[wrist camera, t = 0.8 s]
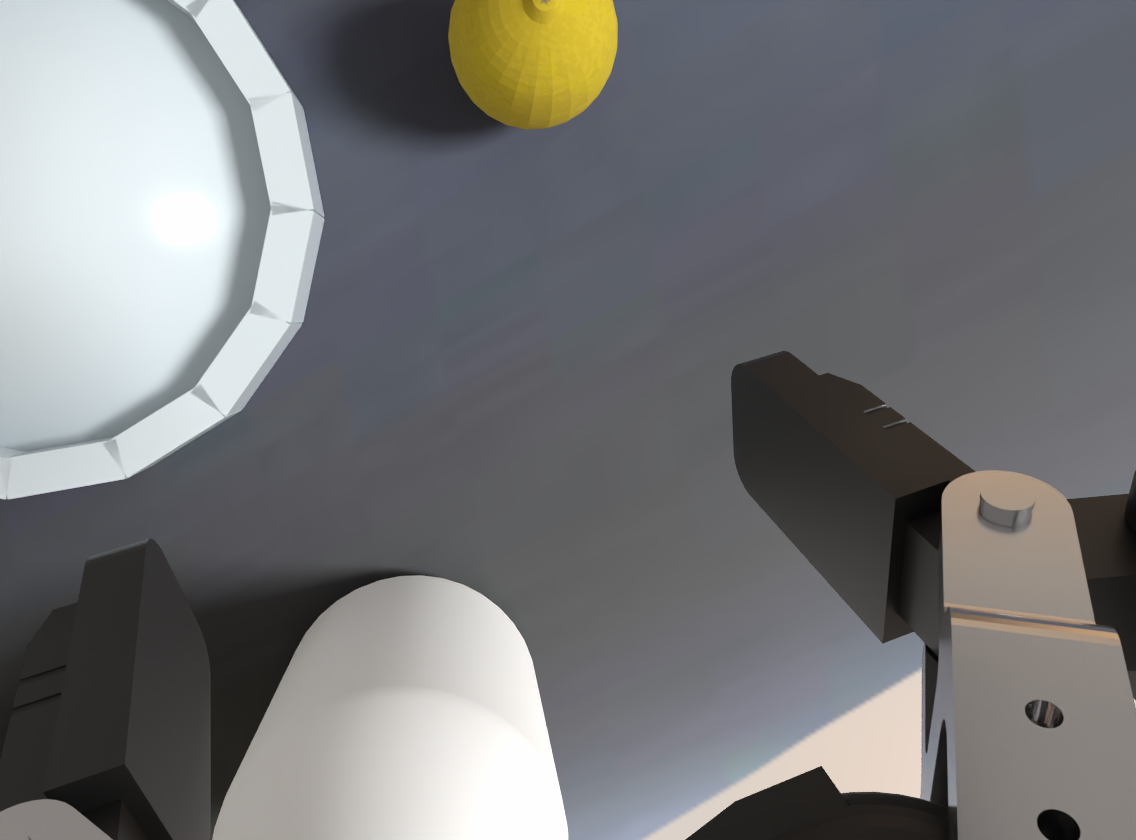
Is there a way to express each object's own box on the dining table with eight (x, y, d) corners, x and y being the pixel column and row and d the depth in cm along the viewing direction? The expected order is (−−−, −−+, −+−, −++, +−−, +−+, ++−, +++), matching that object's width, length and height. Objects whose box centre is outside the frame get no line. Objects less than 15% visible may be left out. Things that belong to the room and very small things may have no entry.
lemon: (441, 135, 33) (437, 81, 26) (459, -18, 33) (459, -123, 25) (587, 158, 34) (625, 111, 26) (606, 8, 34) (652, -85, 26)
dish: (-234, -171, 30) (-296, -214, 27) (369, -1, 33) (362, -26, 30) (-320, 416, 31) (-387, 424, 29) (260, 528, 34) (245, 545, 32)
